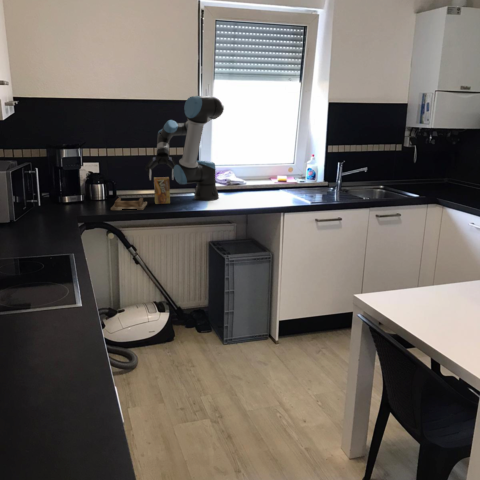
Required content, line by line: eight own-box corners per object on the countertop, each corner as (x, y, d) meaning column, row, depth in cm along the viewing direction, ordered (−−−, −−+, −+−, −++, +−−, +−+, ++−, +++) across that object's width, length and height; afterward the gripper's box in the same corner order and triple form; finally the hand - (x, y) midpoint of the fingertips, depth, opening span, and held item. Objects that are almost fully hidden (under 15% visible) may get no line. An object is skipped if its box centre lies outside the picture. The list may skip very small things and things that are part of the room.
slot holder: (147, 203, 316) (146, 196, 315) (143, 209, 298) (142, 202, 297) (116, 204, 315) (116, 197, 314) (110, 210, 297) (110, 202, 296)
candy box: (169, 202, 320) (168, 176, 316) (170, 203, 316) (169, 177, 312) (154, 202, 318) (153, 177, 314) (155, 204, 314) (154, 178, 310)
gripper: (183, 154, 336) (182, 182, 325) (143, 155, 335) (141, 182, 325) (182, 147, 329) (181, 175, 319) (141, 147, 328) (139, 175, 318)
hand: (161, 178), depth 322 cm, fingers open, 13 cm apart
